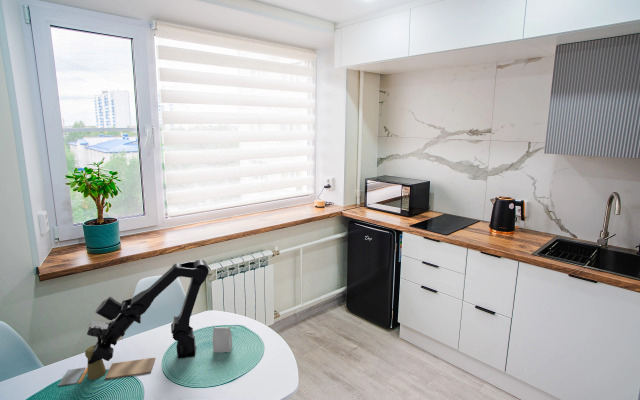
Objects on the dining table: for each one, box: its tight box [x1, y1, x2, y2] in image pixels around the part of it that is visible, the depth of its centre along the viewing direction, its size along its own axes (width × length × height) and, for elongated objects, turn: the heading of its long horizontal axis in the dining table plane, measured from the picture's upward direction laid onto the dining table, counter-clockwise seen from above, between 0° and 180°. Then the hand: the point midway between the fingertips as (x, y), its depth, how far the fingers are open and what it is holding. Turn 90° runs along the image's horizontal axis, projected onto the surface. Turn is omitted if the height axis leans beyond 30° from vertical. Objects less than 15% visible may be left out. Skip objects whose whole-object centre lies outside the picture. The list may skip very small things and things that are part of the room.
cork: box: [84, 344, 107, 380], centre depth 134 cm, size 6×6×11 cm
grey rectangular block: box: [212, 326, 233, 353], centre depth 149 cm, size 4×7×10 cm, turn 88°
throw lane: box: [57, 357, 156, 387], centre depth 136 cm, size 31×8×1 cm, turn 103°
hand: (90, 359), depth 133 cm, fingers closed on cork, 5 cm apart
